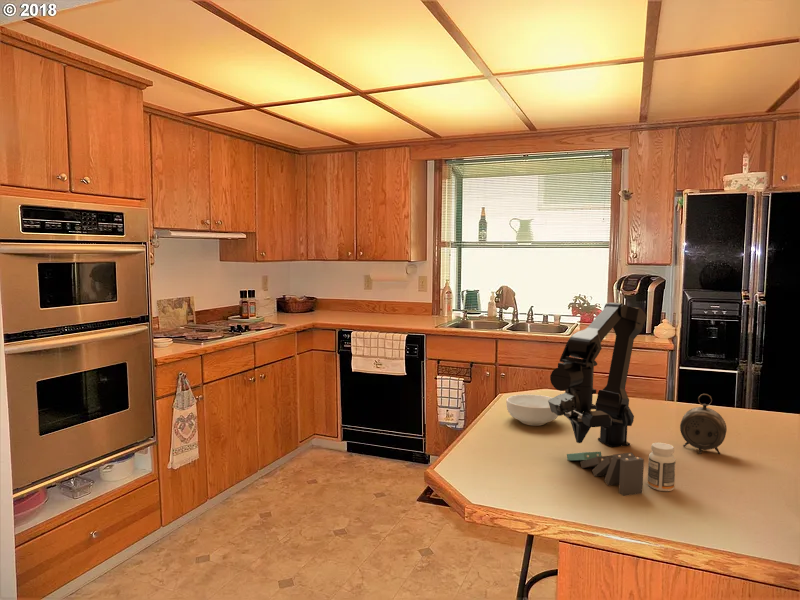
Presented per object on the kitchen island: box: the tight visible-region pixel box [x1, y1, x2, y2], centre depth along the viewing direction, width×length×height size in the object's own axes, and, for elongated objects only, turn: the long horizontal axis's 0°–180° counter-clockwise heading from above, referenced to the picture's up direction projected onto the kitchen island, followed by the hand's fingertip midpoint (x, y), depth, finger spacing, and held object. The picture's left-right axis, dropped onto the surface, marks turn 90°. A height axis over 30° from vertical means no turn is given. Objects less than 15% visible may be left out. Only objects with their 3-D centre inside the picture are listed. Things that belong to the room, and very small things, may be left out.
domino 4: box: [604, 452, 636, 486], centre depth 129 cm, size 5×2×8 cm, turn 105°
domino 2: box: [579, 454, 613, 469], centre depth 137 cm, size 5×2×8 cm
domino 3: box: [591, 455, 613, 477], centre depth 133 cm, size 5×2×8 cm
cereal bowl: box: [505, 393, 559, 427], centre depth 177 cm, size 17×17×7 cm
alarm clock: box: [679, 393, 728, 455], centre depth 151 cm, size 11×5×16 cm, turn 56°
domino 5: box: [618, 456, 645, 497], centre depth 126 cm, size 5×2×8 cm, turn 105°
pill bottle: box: [647, 441, 677, 492], centre depth 129 cm, size 6×6×10 cm
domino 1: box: [566, 451, 603, 461], centre depth 142 cm, size 5×2×8 cm
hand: (579, 442), depth 145 cm, fingers closed
